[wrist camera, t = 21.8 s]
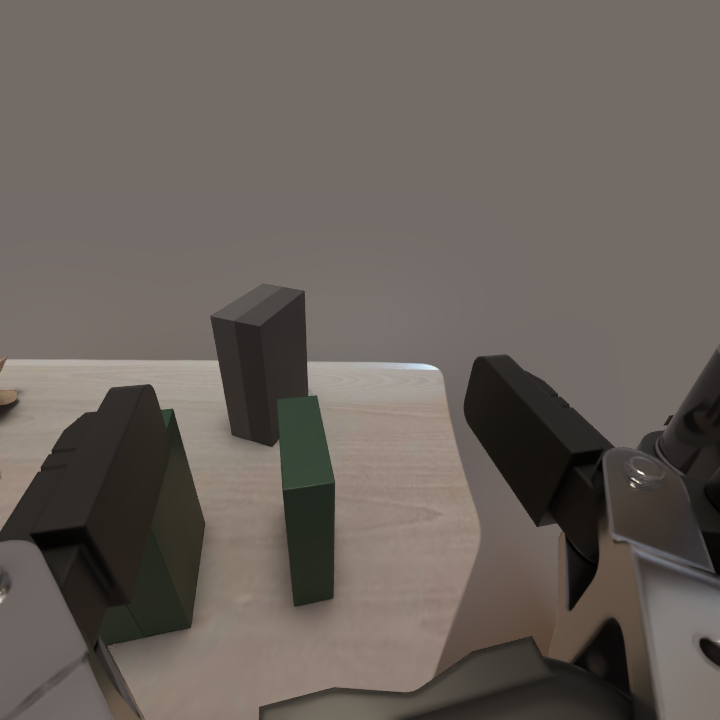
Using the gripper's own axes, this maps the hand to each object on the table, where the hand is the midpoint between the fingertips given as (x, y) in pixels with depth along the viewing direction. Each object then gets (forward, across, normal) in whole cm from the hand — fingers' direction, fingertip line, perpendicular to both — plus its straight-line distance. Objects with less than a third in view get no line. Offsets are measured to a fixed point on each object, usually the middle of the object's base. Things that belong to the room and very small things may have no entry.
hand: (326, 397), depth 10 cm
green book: (+12, 0, +27) cm, 30 cm away
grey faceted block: (+32, +3, +27) cm, 42 cm away
